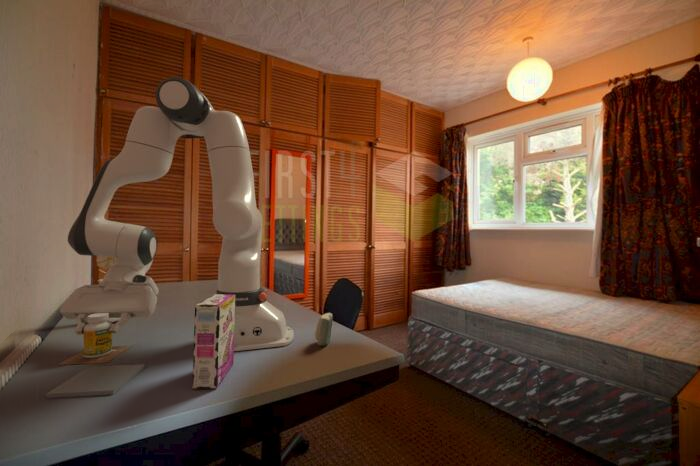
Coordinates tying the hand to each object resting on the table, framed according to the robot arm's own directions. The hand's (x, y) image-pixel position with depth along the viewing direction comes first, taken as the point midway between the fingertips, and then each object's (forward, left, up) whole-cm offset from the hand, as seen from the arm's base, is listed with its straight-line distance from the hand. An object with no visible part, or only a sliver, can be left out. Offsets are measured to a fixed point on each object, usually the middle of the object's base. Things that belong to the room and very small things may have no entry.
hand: (96, 332), depth 73 cm
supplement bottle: (0, -1, -6) cm, 6 cm away
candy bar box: (-31, +13, -6) cm, 34 cm away
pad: (-9, +13, -6) cm, 17 cm away
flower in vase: (+14, -29, -6) cm, 32 cm away
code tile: (0, -1, -6) cm, 6 cm away
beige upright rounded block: (-55, -3, -6) cm, 55 cm away
